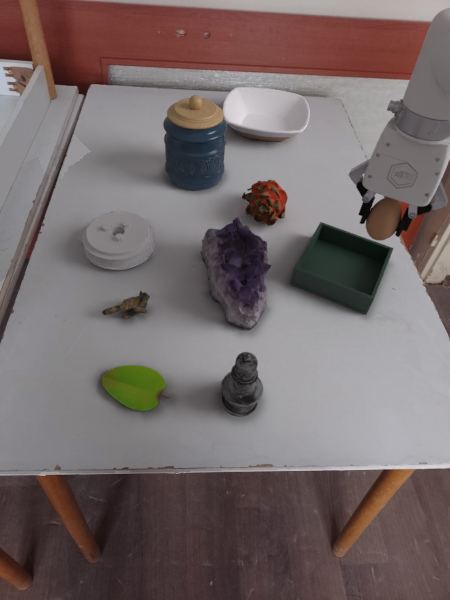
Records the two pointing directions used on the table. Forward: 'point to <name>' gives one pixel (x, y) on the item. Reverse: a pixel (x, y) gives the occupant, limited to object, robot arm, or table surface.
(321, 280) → the box
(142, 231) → the lid
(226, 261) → the geode
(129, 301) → the cat figurine
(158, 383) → the decorative leaf
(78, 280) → the table surface
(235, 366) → the grey tall stone piece
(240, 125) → the bowl
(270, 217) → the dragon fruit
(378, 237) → the egg
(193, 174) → the canister
